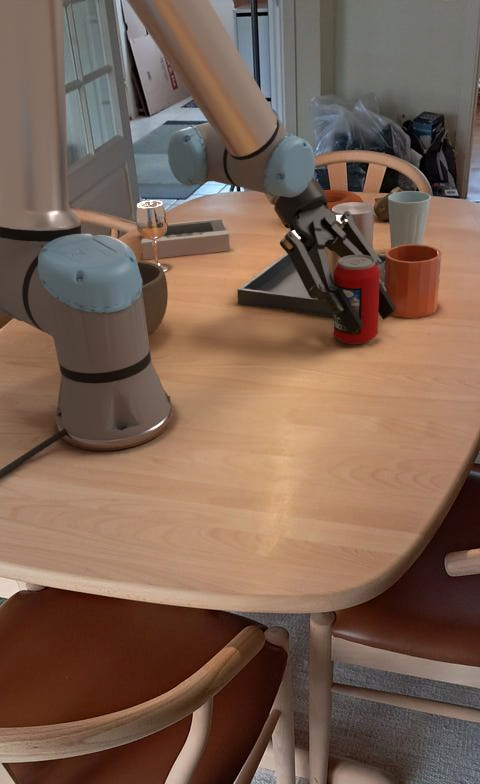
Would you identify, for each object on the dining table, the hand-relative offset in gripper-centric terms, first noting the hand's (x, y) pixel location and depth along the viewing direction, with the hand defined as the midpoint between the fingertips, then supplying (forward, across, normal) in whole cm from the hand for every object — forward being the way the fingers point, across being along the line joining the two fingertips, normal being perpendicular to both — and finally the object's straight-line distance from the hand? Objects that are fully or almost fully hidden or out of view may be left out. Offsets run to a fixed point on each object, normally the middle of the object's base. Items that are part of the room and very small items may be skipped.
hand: (373, 322), depth 124 cm
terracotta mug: (-1, -16, -6) cm, 17 cm away
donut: (-31, -42, -36) cm, 63 cm away
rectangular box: (-41, -13, -46) cm, 63 cm away
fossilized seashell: (-24, -52, -29) cm, 64 cm away
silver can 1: (-10, -9, -14) cm, 20 cm away
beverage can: (0, 0, -5) cm, 5 cm away
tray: (-14, -12, -19) cm, 26 cm away
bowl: (-21, +24, -26) cm, 41 cm away
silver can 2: (-12, -18, -16) cm, 27 cm away
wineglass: (-35, 0, -40) cm, 54 cm away
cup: (-13, -35, -18) cm, 41 cm away
